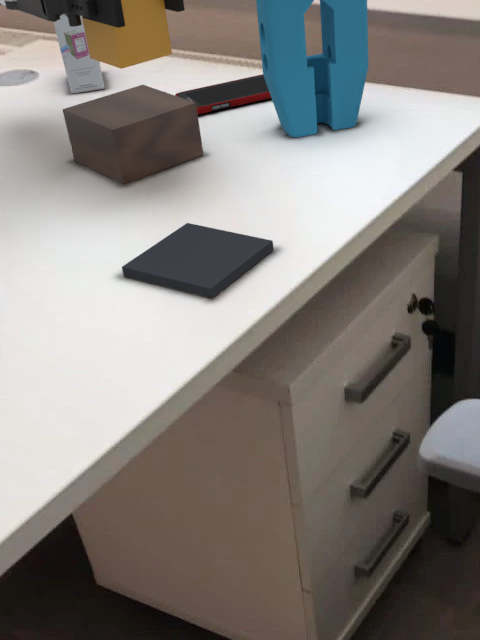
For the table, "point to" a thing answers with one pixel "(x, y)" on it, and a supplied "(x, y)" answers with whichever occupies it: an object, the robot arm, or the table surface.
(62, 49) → the ink box
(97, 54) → the ochre block
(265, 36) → the blue slotted bracket
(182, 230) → the grey mat
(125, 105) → the walnut block
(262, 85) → the cell phone
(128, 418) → the table surface
